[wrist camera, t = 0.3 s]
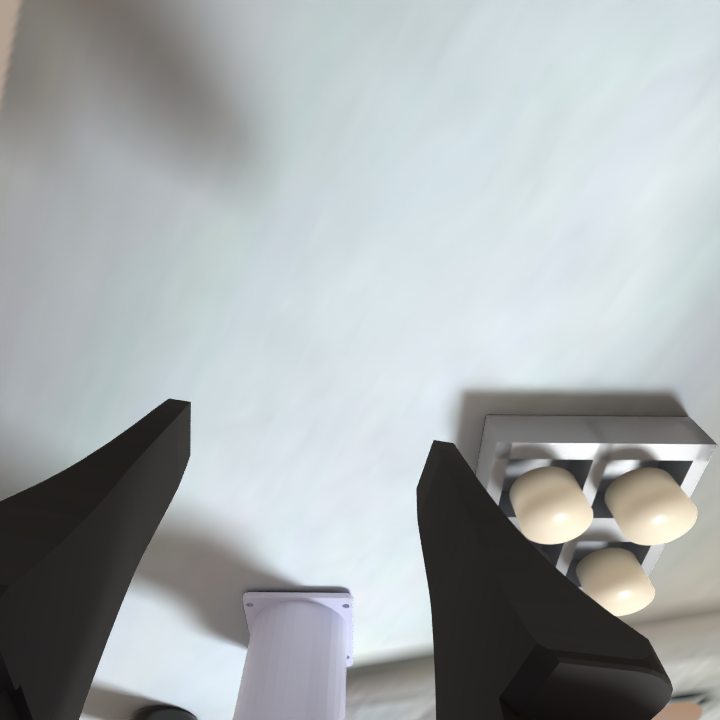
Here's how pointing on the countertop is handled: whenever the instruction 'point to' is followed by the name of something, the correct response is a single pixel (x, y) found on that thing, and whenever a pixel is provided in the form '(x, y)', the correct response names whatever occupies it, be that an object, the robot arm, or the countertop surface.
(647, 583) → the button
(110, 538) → the robot arm
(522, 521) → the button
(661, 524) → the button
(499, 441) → the button board
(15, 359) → the countertop surface
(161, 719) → the supplement bottle
